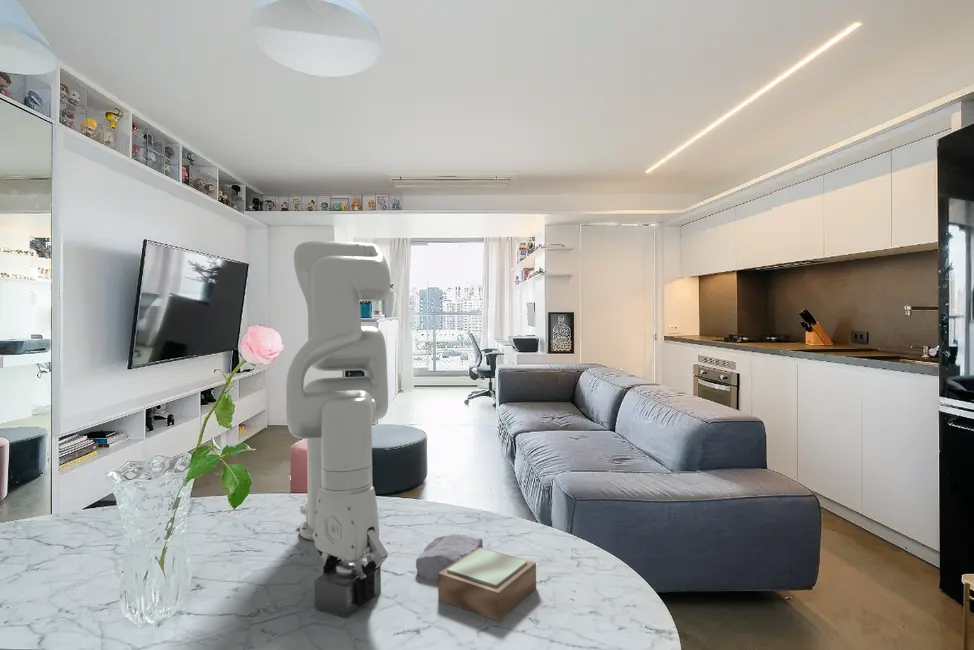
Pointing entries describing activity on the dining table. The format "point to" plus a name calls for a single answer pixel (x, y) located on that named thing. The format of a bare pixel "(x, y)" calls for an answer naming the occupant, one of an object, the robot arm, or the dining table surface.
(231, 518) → the dining table surface
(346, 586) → the housing
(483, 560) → the stand
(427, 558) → the stone block
